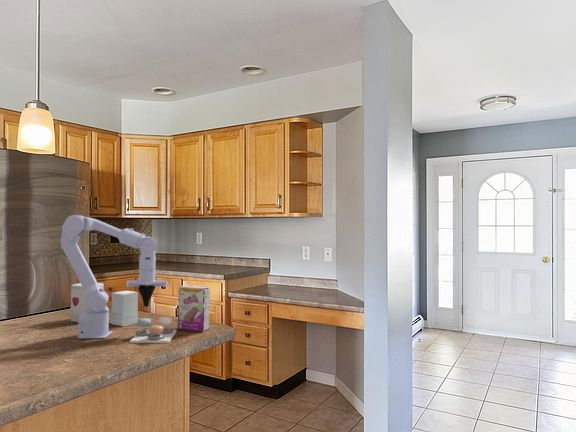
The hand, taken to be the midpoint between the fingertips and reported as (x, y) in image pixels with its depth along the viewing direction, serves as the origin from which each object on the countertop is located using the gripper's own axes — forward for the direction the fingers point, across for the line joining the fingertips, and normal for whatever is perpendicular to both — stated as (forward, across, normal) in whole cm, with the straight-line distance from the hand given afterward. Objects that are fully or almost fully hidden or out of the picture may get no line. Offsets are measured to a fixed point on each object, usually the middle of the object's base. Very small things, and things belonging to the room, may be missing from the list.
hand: (146, 306), depth 158 cm
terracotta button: (+7, +6, -10) cm, 14 cm away
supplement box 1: (+10, -29, +20) cm, 37 cm away
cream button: (+6, +8, -2) cm, 10 cm away
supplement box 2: (+10, -12, +14) cm, 21 cm away
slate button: (+6, 0, -5) cm, 8 cm away
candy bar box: (+10, +17, +5) cm, 20 cm away
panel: (+10, +4, -6) cm, 12 cm away
